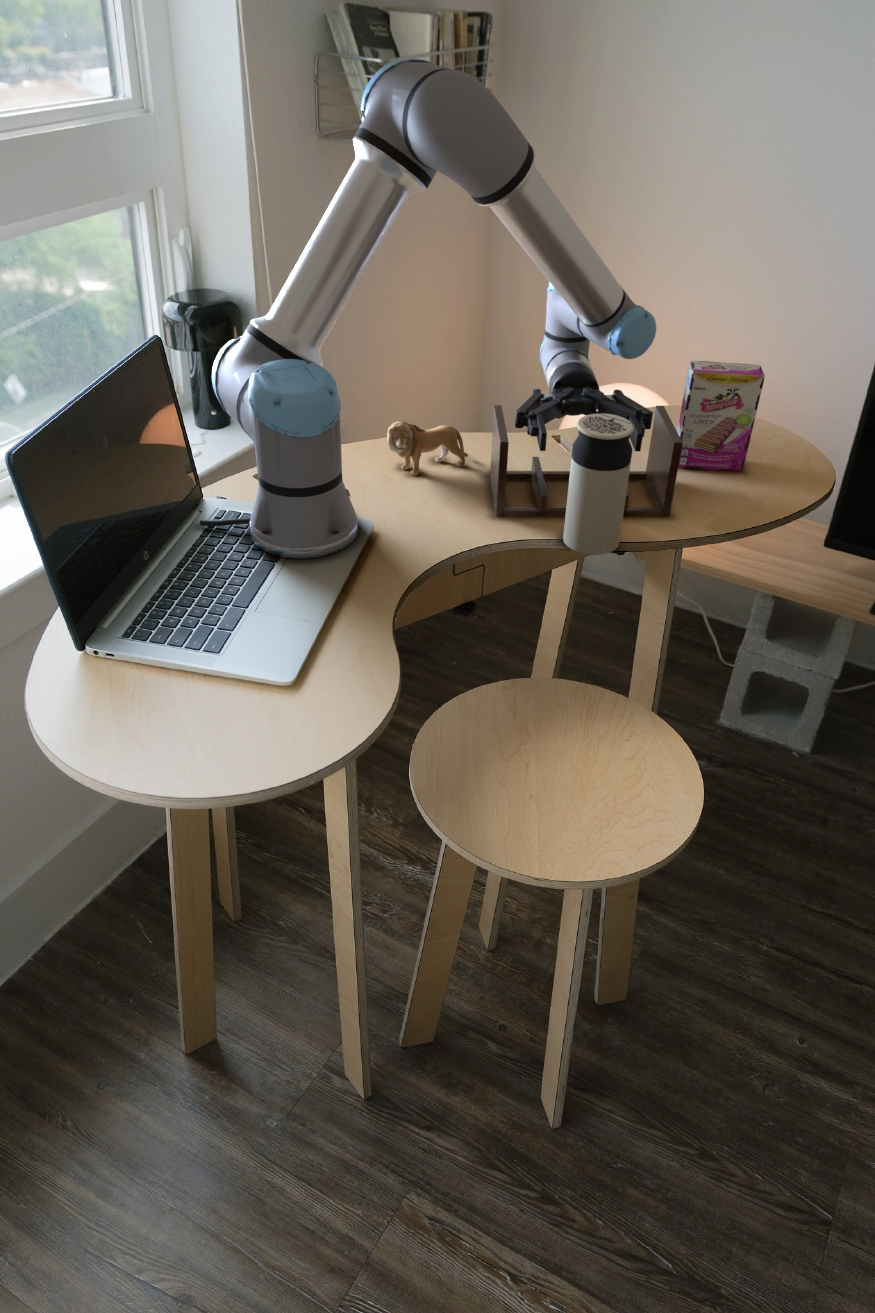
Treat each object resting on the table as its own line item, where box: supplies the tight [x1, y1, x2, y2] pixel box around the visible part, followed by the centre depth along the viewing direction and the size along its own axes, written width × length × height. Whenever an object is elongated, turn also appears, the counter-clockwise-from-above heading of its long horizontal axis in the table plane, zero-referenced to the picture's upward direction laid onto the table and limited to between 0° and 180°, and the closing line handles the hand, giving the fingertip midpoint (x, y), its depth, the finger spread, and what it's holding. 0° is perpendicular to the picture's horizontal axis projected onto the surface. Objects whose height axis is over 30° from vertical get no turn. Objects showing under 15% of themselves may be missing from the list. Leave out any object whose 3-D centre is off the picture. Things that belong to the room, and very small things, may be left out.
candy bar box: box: [676, 360, 766, 472], centre depth 159 cm, size 11×5×16 cm, turn 84°
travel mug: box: [562, 414, 634, 556], centre depth 138 cm, size 8×8×18 cm
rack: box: [489, 404, 683, 518], centre depth 151 cm, size 26×13×12 cm, turn 92°
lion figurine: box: [386, 420, 469, 476], centre depth 158 cm, size 15×5×9 cm, turn 121°
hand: (591, 442), depth 142 cm, fingers open, 13 cm apart
